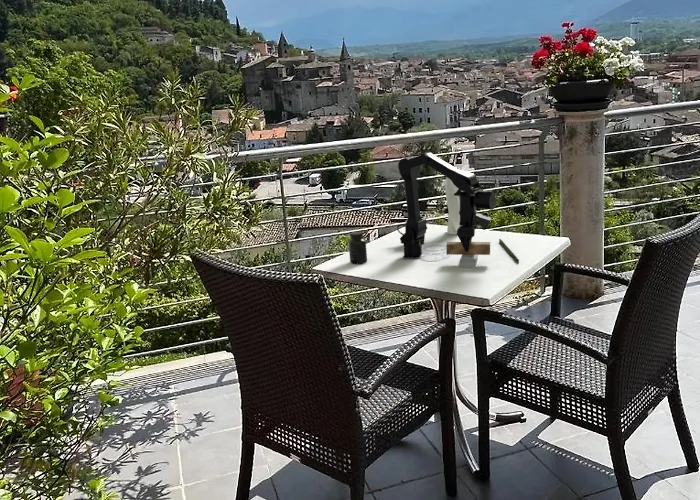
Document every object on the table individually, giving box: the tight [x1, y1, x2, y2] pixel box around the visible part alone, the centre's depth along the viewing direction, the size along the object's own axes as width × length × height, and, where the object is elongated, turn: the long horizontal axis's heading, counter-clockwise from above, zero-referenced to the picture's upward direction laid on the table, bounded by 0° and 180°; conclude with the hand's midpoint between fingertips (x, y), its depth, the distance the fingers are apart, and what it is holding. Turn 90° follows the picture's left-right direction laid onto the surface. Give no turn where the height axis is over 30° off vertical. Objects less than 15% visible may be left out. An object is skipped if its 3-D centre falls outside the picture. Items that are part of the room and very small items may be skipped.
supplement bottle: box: [348, 231, 368, 265], centre depth 266 cm, size 7×7×12 cm
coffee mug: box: [396, 220, 426, 246], centre depth 289 cm, size 12×9×10 cm
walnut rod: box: [445, 241, 491, 256], centre depth 255 cm, size 16×4×4 cm, turn 75°
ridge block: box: [458, 255, 479, 268], centre depth 256 cm, size 6×10×4 cm, turn 165°
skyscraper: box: [443, 176, 462, 236], centre depth 299 cm, size 8×8×28 cm
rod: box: [498, 238, 520, 264], centre depth 267 cm, size 31×1×2 cm, turn 0°
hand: (468, 248), depth 255 cm, fingers open, 9 cm apart
